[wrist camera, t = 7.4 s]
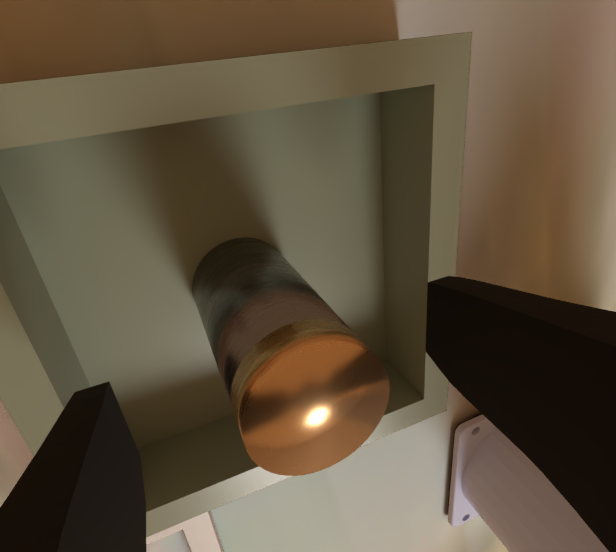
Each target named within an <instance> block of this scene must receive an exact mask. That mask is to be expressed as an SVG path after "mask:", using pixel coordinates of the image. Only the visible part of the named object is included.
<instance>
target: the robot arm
mask: <svg viewBox="0 0 616 552" xmlns="http://www.w3.org/2000/svg"><path fill="white" fill-rule="evenodd" d="M426 353H427V354H428V355H429V356H430V358H431V359H432V360H433V362H434V363H435V364H436V366H437V367H438V368H439V370H440V371H441V372H442V373H443V374H444V376H445V377H446V378H447V379H448V380H449V382H450V383H451V384H452V385H453V386H454V387H455V388H456V389H457V390H458V391H459V392H460V393H461V394H462V395H463V396H464V397H465V398H466V399H467V400H468V401H469V402H470V403H471V404H472V405H473V406H474V407H475V408H477V409H478V410H479V411H480V412H481V413H482V415H480V416H477V417H475V418H473V419H471V420H468V421H466V422H464V423H462V424H460V425H459V426H458V427H457V429H456V431H455V438H454V450H453V462H452V474H451V487H450V499H449V511H448V522H449V523H450V525H451V526H452V527H457V526H460V525H461V524H463V523H465V522H467V521H469V520H471V519H473V518H475V517H477V516H479V515H480V516H481V518H482V519H483V520H484V521H485V523H486V524H487V525H488V526H489V527H490V529H491V530H492V531H493V532H494V534H495V535H496V536H497V537H498V538H499V540H500V541H501V542H502V543H503V544H504V546H505V547H506V548H507V549H508V551H509V552H616V312H613V311H608V310H603V309H598V308H593V307H588V306H583V305H578V304H574V303H569V302H565V301H560V300H556V299H551V298H547V297H543V296H539V295H534V294H530V293H526V292H522V291H518V290H514V289H510V288H506V287H502V286H497V285H493V284H489V283H485V282H480V281H476V280H471V279H466V278H461V277H454V276H446V277H443V278H440V279H437V280H434V281H430V282H428V286H427V318H426ZM0 552H146V500H145V491H144V482H143V474H142V466H141V458H140V454H139V452H138V449H137V447H136V444H135V442H134V440H133V437H132V435H131V432H130V430H129V428H128V425H127V423H126V420H125V418H124V416H123V413H122V411H121V408H120V406H119V404H118V401H117V399H116V396H115V394H114V392H113V389H112V387H111V384H110V382H105V383H102V384H99V385H96V386H92V387H89V388H86V389H83V390H80V391H76V392H74V394H73V395H72V397H71V398H70V400H69V402H68V403H67V405H66V406H65V408H64V409H63V411H62V412H61V414H60V416H59V417H58V419H57V421H56V422H55V424H54V425H53V427H52V429H51V430H50V432H49V434H48V435H47V437H46V438H45V440H44V442H43V443H42V445H41V446H40V448H39V450H38V451H37V453H36V454H35V456H34V458H33V459H32V461H31V462H30V464H29V465H28V467H27V468H26V470H25V471H24V473H23V474H22V476H21V477H20V479H19V481H18V482H17V484H16V485H15V487H14V488H13V490H12V491H11V493H10V494H9V496H8V497H7V499H6V500H5V502H4V503H3V505H2V506H1V507H0Z"/></svg>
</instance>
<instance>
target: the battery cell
mask: <svg viewBox="0 0 616 552" xmlns="http://www.w3.org/2000/svg"><path fill="white" fill-rule="evenodd" d="M192 290H193V296H194V300H195V303H196V306H197V309H198V312H199V315H200V317H201V320H202V323H203V326H204V329H205V332H206V335H207V338H208V341H209V344H210V346H211V349H212V352H213V355H214V358H215V361H216V364H217V367H218V370H219V373H220V375H221V378H222V381H223V384H224V387H225V390H226V393H227V396H228V399H229V402H230V404H231V407H232V410H233V413H234V416H235V419H236V422H237V425H238V428H239V431H240V433H241V436H242V439H243V442H244V445H245V448H246V450H247V452H248V455H249V456H250V457H251V459H252V460H253V461H254V462H255V463H256V464H257V465H258V466H259V467H261V468H262V469H264V470H266V471H268V472H271V473H274V474H278V475H285V476H297V475H305V474H310V473H314V472H317V471H320V470H323V469H325V468H328V467H330V466H332V465H334V464H336V463H338V462H340V461H341V460H343V459H344V458H346V457H348V456H349V455H350V454H351V453H353V452H354V451H355V450H357V449H358V448H359V447H360V446H361V445H362V444H363V443H364V442H365V441H366V440H367V439H368V438H369V437H370V435H371V434H372V433H373V432H374V430H375V429H376V427H377V426H378V424H379V423H380V421H381V419H382V417H383V415H384V412H385V410H386V407H387V404H388V400H389V393H390V383H389V377H388V374H387V371H386V369H385V367H384V366H383V364H382V363H381V362H380V360H379V359H378V358H377V357H376V356H375V355H374V354H373V353H372V352H371V351H370V349H369V348H368V347H367V346H366V345H365V344H364V343H363V342H362V341H361V340H360V339H359V338H358V337H357V335H356V334H355V333H354V332H353V331H352V330H351V329H350V328H349V327H348V326H347V325H346V324H345V323H344V321H343V320H342V319H341V318H340V317H339V316H338V315H337V314H336V313H335V312H334V311H333V310H332V308H331V307H330V306H329V305H328V304H327V303H326V302H325V301H324V300H323V299H322V298H321V297H320V296H319V294H318V293H317V292H316V291H315V290H314V289H313V288H312V287H311V286H310V285H309V284H308V283H307V281H306V280H305V279H304V278H303V277H302V276H301V275H300V274H299V273H298V272H297V271H296V270H295V269H294V267H293V266H292V265H291V264H290V263H289V262H288V261H287V260H286V259H285V258H284V257H283V256H282V255H281V253H280V252H279V251H278V250H277V249H276V248H275V247H273V246H272V245H270V244H269V243H267V242H265V241H263V240H260V239H256V238H246V237H243V238H236V239H231V240H228V241H225V242H223V243H221V244H219V245H217V246H216V247H214V248H213V249H212V250H211V251H209V252H208V253H207V254H206V255H205V256H204V258H203V259H202V260H201V262H200V263H199V265H198V267H197V269H196V271H195V274H194V278H193V285H192Z"/></svg>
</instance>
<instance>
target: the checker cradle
mask: <svg viewBox="0 0 616 552" xmlns="http://www.w3.org/2000/svg"><path fill="white" fill-rule="evenodd" d="M182 529H183V531H184V533H185V536H186V538H187V541H188V543H189V546H190V548H191V551H192V552H224V550H223V547H222V544H221V541H220V538H219V535H218V532H217V529H216V526H215V523H214V520H213V517H212V514H211V511H208V512H205V513H203V514H201V515H198V516H196V517H194V518H191V519H189V520H186V521H184V522H182V523H179V524H177V525H175V526H172V527H170V528H168V529H165V530H163V531H161V532H158V533H156V534H153V535H151V536H149V537H146V545H147V544H150V543H152V542H154V541H157V540H159V539H161V538H164V537H166V536H168V535H171V534H173V533H175V532H178V531H180V530H182Z"/></svg>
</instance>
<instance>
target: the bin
mask: <svg viewBox="0 0 616 552" xmlns="http://www.w3.org/2000/svg"><path fill="white" fill-rule="evenodd" d="M471 39H472V32H466V33H457V34H448V35H439V36H430V37H421V38H412V39H402V40H393V41H384V42H375V43H366V44H357V45H348V46H339V47H330V48H321V49H312V50H303V51H294V52H285V53H276V54H267V55H258V56H249V57H240V58H231V59H222V60H213V61H204V62H194V63H185V64H176V65H167V66H158V67H149V68H140V69H131V70H122V71H113V72H104V73H95V74H86V75H77V76H68V77H59V78H50V79H41V80H32V81H23V82H14V83H5V84H0V399H1V401H2V403H3V404H4V406H5V408H6V409H7V411H8V413H9V415H10V416H11V418H12V420H13V421H14V423H15V425H16V426H17V428H18V430H19V432H20V433H21V435H22V437H23V438H24V440H25V442H26V443H27V445H28V447H29V449H30V450H31V452H32V454H33V455H34V456H35V454H36V453H37V451H38V450H39V448H40V446H41V445H42V443H43V442H44V440H45V438H46V437H47V435H48V434H49V432H50V430H51V429H52V427H53V425H54V424H55V422H56V421H57V419H58V417H59V416H60V414H61V412H62V411H63V409H64V408H65V406H66V405H67V403H68V402H69V400H70V398H71V397H72V395H73V394H74V392H76V391H80V390H83V389H86V388H89V387H92V386H96V385H99V384H102V383H105V382H110V384H111V387H112V389H113V392H114V394H115V396H116V399H117V401H118V404H119V406H120V408H121V411H122V413H123V416H124V418H125V420H126V423H127V425H128V428H129V430H130V432H131V435H132V437H133V440H134V442H135V444H136V447H137V449H138V452H139V454H140V458H141V466H142V474H143V482H144V491H145V500H146V537H149V536H151V535H153V534H156V533H158V532H161V531H163V530H165V529H168V528H170V527H172V526H175V525H177V524H179V523H182V522H184V521H186V520H189V519H191V518H194V517H196V516H198V515H201V514H203V513H205V512H208V511H210V510H212V509H215V508H217V507H219V506H222V505H224V504H227V503H229V502H231V501H234V500H236V499H238V498H241V497H243V496H245V495H248V494H250V493H253V492H255V491H257V490H260V489H262V488H264V487H267V486H269V485H271V484H274V483H276V482H278V481H281V480H283V479H286V478H288V477H290V476H285V475H278V474H274V473H271V472H268V471H266V470H264V469H262V468H261V467H259V466H258V465H257V464H256V463H255V462H254V461H253V460H252V459H251V457H250V456H249V455H248V452H247V450H246V448H245V445H244V442H243V439H242V436H241V433H240V431H239V428H238V425H237V422H236V419H235V416H234V413H233V410H232V407H231V404H230V402H229V399H228V396H227V393H226V390H225V387H224V384H223V381H222V378H221V375H220V373H219V370H218V367H217V364H216V361H215V358H214V355H213V352H212V349H211V346H210V344H209V341H208V338H207V335H206V332H205V329H204V326H203V323H202V320H201V317H200V315H199V312H198V309H197V306H196V303H195V300H194V296H193V290H192V285H193V278H194V274H195V271H196V269H197V267H198V265H199V263H200V262H201V260H202V259H203V258H204V256H205V255H206V254H207V253H208V252H209V251H211V250H212V249H213V248H214V247H216V246H217V245H219V244H221V243H223V242H225V241H228V240H231V239H236V238H243V237H246V238H256V239H260V240H263V241H265V242H267V243H269V244H270V245H272V246H273V247H275V248H276V249H277V250H278V251H279V252H280V253H281V255H282V256H283V257H284V258H285V259H286V260H287V261H288V262H289V263H290V264H291V265H292V266H293V267H294V269H295V270H296V271H297V272H298V273H299V274H300V275H301V276H302V277H303V278H304V279H305V280H306V281H307V283H308V284H309V285H310V286H311V287H312V288H313V289H314V290H315V291H316V292H317V293H318V294H319V296H320V297H321V298H322V299H323V300H324V301H325V302H326V303H327V304H328V305H329V306H330V307H331V308H332V310H333V311H334V312H335V313H336V314H337V315H338V316H339V317H340V318H341V319H342V320H343V321H344V323H345V324H346V325H347V326H348V327H349V328H350V329H351V330H352V331H353V332H354V333H355V334H356V335H357V337H358V338H359V339H360V340H361V341H362V342H363V343H364V344H365V345H366V346H367V347H368V348H369V349H370V351H371V352H372V353H373V354H374V355H375V356H376V357H377V358H378V359H379V360H380V362H381V363H382V364H383V366H384V367H385V369H386V371H387V374H388V377H389V383H390V393H389V400H388V404H387V407H386V410H385V412H384V415H383V417H382V419H381V421H380V423H379V424H378V426H377V427H376V429H375V430H374V432H373V433H372V434H371V435H370V437H369V438H368V439H367V440H366V441H365V442H364V443H363V444H362V445H361V446H363V445H366V444H368V443H370V442H373V441H375V440H378V439H380V438H382V437H385V436H387V435H389V434H392V433H394V432H396V431H399V430H401V429H403V428H406V427H408V426H411V425H413V424H415V423H418V422H420V421H422V420H425V419H427V418H429V417H432V416H434V415H437V414H439V413H441V412H444V411H446V410H447V396H448V381H449V380H448V379H447V378H446V377H445V376H444V374H443V373H442V372H441V371H440V370H439V368H438V367H437V366H436V364H435V363H434V362H433V360H432V359H431V358H430V356H429V355H428V354H427V353H426V318H427V286H428V282H430V281H434V280H437V279H440V278H443V277H446V276H454V277H456V262H457V247H458V233H459V218H460V203H461V188H462V173H463V158H464V143H465V129H466V114H467V99H468V84H469V69H470V54H471ZM361 446H360V447H361Z"/></svg>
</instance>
